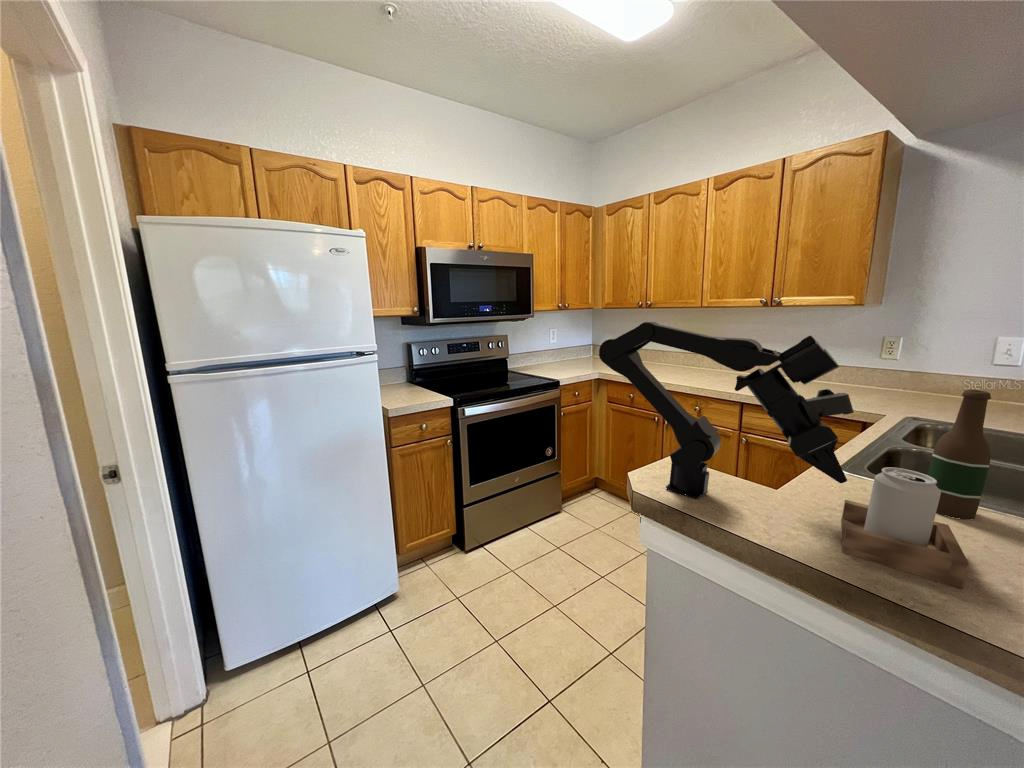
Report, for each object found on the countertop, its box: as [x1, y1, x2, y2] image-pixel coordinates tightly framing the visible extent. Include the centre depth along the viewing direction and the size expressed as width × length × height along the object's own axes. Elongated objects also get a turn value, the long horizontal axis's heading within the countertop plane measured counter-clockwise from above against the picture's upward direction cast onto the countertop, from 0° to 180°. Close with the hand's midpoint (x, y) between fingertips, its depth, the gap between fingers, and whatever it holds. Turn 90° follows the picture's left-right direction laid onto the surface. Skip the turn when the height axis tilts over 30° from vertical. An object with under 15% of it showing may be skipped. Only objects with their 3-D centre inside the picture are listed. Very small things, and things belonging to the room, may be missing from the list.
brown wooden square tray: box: [840, 499, 970, 589], centre depth 64 cm, size 13×13×4 cm
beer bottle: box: [927, 389, 992, 520], centre depth 76 cm, size 8×8×24 cm
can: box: [864, 466, 941, 547], centre depth 63 cm, size 8×8×12 cm
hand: (838, 475), depth 68 cm, fingers open, 9 cm apart
